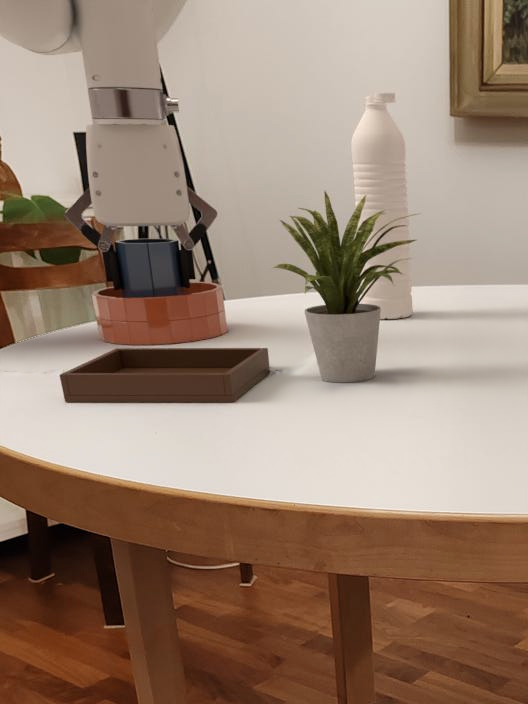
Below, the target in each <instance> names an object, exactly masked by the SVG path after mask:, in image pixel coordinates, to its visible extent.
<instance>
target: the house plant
mask: <svg viewBox="0 0 528 704" xmlns="http://www.w3.org/2000/svg"><path fill="white" fill-rule="evenodd" d="M365 198H366V195H365V196H364V197H363V199H362V200H361V202H360V203H359V204H358V206H357V208H356V207H355V210H354V212H353V213H352V215H351V217H350V218H349V220H348V222H347V223H346V227H345V230H344V233H343V235H342V238H341V239H340V232H339V225H338V221H337V218H336V215H335V212H334V210H333V207H332V203H331V200H330V199H331V198H330V196H329V195H328V194H327V192H326V190H324V205H325V214H326V221H327V222H326V221H325V219H324V218H323V216H322V214H321V213H320V212H318V211H316V210H314V211H313V210H311V209H308V208H304V207H303V208H302V207H298V209H299V210H303V211H306V212H308V213H309V214H310V215H311V216H312V217H313V222H312V221H310V220H309V219H308V218H306V217H303V216H297V215H295V216H294V215H293V216H292V215H289V218H290V219H291V220H292V221H293V224H294V225H295V227H296V228H294V227H293V226H292V225H291V224H289V223H287V222H284V221H283V220H281V219H279V221H280V223H281V225H282V226H283V227H284V228H285V229H286V230H287V231H288V233H289V234H290V235H291V237H292V239H294V241H295V242H296V244H298V246H300V248H301V249H302V251H304V253H305V254H306V256H307V257H308V259H309V261H310V262H311V264H312V266H313V268H314V270H315V274H309V273H308V272H307V271H305V270H304V269H302V268H301V267H298V266H296V265H293V264H290V263H279V264H277V265H275V266H273V267H272V269H282V270H286V271H289V272H292V273H295V274H297V275H299V276H301V277H303V278H304V279H305V284H304V285H305V286H304V294H306V293H307V292H308V291H309V290H312V289H314V290H315V291H316V292H317V293H318V294H319V296H320V297H321V299H322V300H323V302H324V304H321V305H315V306H310V307H307V308H304V316H305V319H306V323H307V327H308V331H309V334H310V338H311V343H312V347H313V351H314V355H315V358H316V363H317V367H318V370H319V371H318V372H319V374H320V377H321V380H322V381H325V382H329V383H357V382H364V381H368V380H372V379H374V377H375V376H376V366H377V365H376V364H377V355H378V343H379V334H380V333H379V332H380V323H381V322H380V321H381V319H380V312H381V309H380V307H379V306H376V305H371V304H362V303H361V302H362V301H361V300H362V298H363V297H364V296H365V294H366V293H367V292H368V290H369V289H370V288H371V287H372V285H373V284H374V283H375V282H376V281H377V280H378V278H379V277H380V276H384V277H386V278H388V279H389V280H390V281H391V282H392V283H393V281H392V277H391V276H390V275H389V273H400V274H403V273H401V272H400V271H399V270H398V269H397V268H395V267H393V266H392V265H393V264H394V263H396V262H398V261H401V260H407V259H400V260H397V261H394V262H393V263H391V264H389V265H388V266H384V265H375V266H371V267H369V268H368V269H366V270H365V271H364V272H363V273H362V274H361V272H362V270H363V268H364V266H365V264H366V262H367V261H368V260H369V259H371V258H373V257H374V256H376V255H379V254H381V253H383V252H385V251H387V250H389V249H391V248H394V247H396V246H399V245H403V244H408V243H409V244H411V243H413V242H416V241H417V239H409V240H405V241H396V242H391V243H386V244H382V245H379V246H376V245H377V243H378V242H379V241H380V239H381V238H382V237H383V236H384V235H385V234H386V233H388V232H389V231H390V230H392V229H394V228H396V227H402V226H408V227H409V225H399V226H394V227H391V228H389V229H387V230H386V231H385V232H384V233H382V234H381V235H380V237H379V238H378V239H377V240H376V242H375V244H374V245H373V247H372V248H370V249H368V250H366V251H364V252H363V250H364V249H365V247H366V246H367V245H368V243H369V242H370V241H371V240H372V239H373V237H374V236H375V235H376V234H377V233H378V232H379V231H381V230H382V229H383V228H385V227H386V226H387V225H389V224H391V223H393V222H394V221H396V220H399V219H402V218H405V217H408V218H409V217H413V216H417V215H418V213H414V214H408V216H404V217H401V218H398V219H395V220H393V221H391V222H389V223H387V224H386V225H385V226H383V227H382V228H381V229H379V230H378V231H377V232H376V233H375V234H374V235H373V236H372V238H371V239H370V240H369V241H368V242H367V244H366V245H365V243H366V241H367V239H368V237H369V236H370V234H371V233H372V231H373V228H374V224H375V221H376V219H377V218H378V217H379V216H380V215H382V214H387V213H383V211H381V212H378V213H376V214H374V215H373V216H371V217H369V218H367V219H366V220H365V221H363V222H362V224H361V226H360V227H359V229H358V228H357V227H358V224H359V220H360V216H361V212H362V209H363V207H364V204H365ZM384 211H385V210H384ZM421 214H422V213H419V215H421ZM302 227H303V228H302ZM304 230H305V231H306V232H305V231H304ZM306 233H307V234H308V236H309V238H310V239H309V238H308V236H307V234H306ZM311 241H312V242H311ZM364 245H365V247H364ZM375 246H376V247H375ZM363 247H364V248H363ZM362 249H363V250H362ZM411 259H413V258H412V257H410V260H411ZM384 267H386V268H385V269H384V270H383V271H379V272H375V271H376V270H377V269H378V268H384ZM388 268H391V269H394V270H387V269H388ZM360 274H361V275H360ZM364 278H365V280H364V282H363V283H362V285H360V284H361V282H362V280H363V279H364ZM374 279H375V280H374ZM373 280H374V281H373ZM372 281H373V282H372ZM371 282H372V283H371ZM309 283H310V284H311V285H312V286H310V285H309V286H308V285H307V284H309ZM369 283H371V285H370V286H369V287H368V288H367V290H366V291H365V292H364V294H363V295H362V293H363V291H364V290H365V288H366V287H367V285H368V284H369ZM393 285H394V284H393ZM360 296H361V297H360Z"/></svg>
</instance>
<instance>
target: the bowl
mask: <svg viewBox="0 0 528 704" xmlns="http://www.w3.org/2000/svg"><path fill="white" fill-rule="evenodd" d="M184 291H185V295H176V296H165V297H140V298H124V297H123V296H122V290H121V289H119V290H114V286H109V287H104V288H103V287H102V288H100V289H96V290H94V291H93V292H91V298H92V305H93V308H94V309H93V310H94V313H95V320H96V325H97V330H98V335H99V340H101V341H103V342H105V343H109V344H114V345H127V346H128V345H129V346H141V345H142V346H148V345H149V346H155V345H171V344H172V345H173V344H182V343H191V342H197V341H203V340H209V339H212V338H216V337H219V336H223V335H224V334H226V333H227V332H228V322H227V315H226V307H225V306H226V305H225V298H224V291H223V286H222V284H218V283H216V282H208V281H207V282H206V281H190V288H186V287H184Z"/></svg>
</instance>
